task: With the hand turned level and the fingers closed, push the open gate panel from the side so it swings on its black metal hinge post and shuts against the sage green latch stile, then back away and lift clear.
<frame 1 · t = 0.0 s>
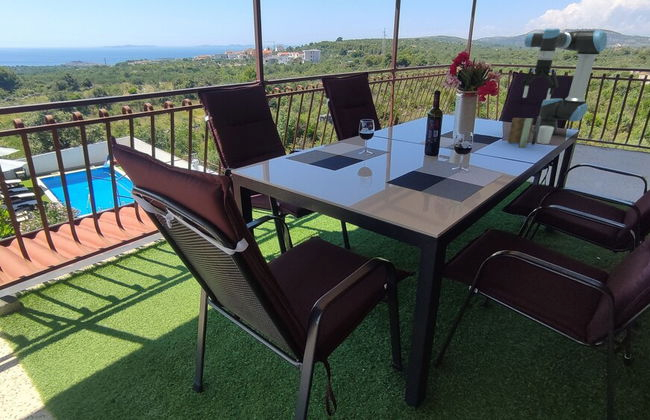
hand: (535, 98, 214), 28 cm above the table, tool pointing down, fingers open, 13 cm apart
gate frame: (530, 143, 232), on the table
gate: (520, 130, 229), point 8 cm above the table, hinge at -40.0°
white cup: (542, 143, 234), on the table
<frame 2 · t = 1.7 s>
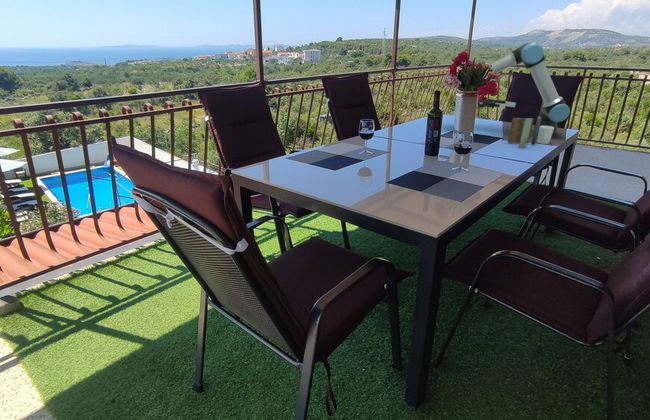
hand: (510, 105, 229), 22 cm above the table, tool horizontal, fingers open, 10 cm apart
nothing on the table moved.
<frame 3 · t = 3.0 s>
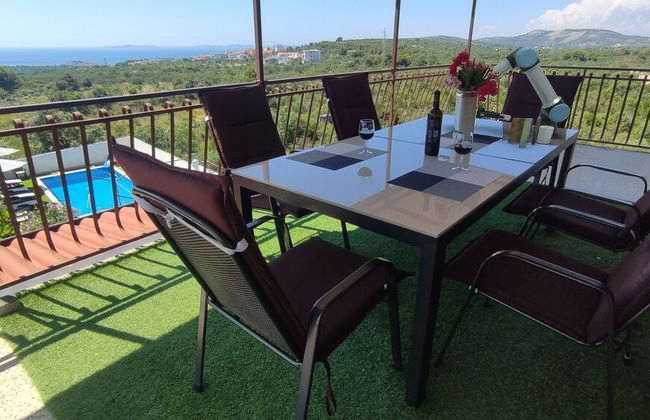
hand: (509, 118, 230), 15 cm above the table, tool horizontal, fingers closed
nothing on the table moved.
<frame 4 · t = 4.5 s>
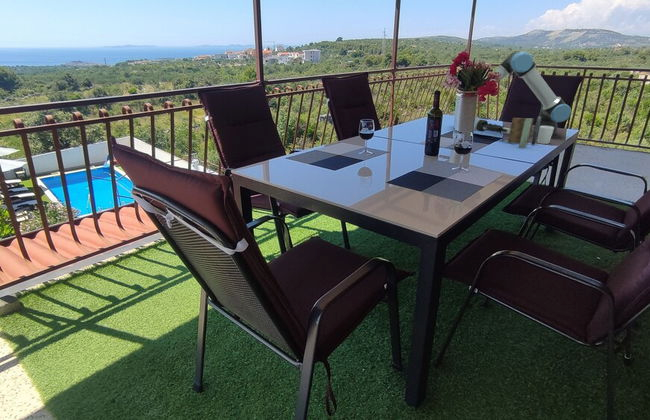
hand: (512, 131, 231), 7 cm above the table, tool horizontal, fingers closed
gate: (520, 130, 229), point 8 cm above the table, hinge at -39.7°, touching gripper
everything else where it was.
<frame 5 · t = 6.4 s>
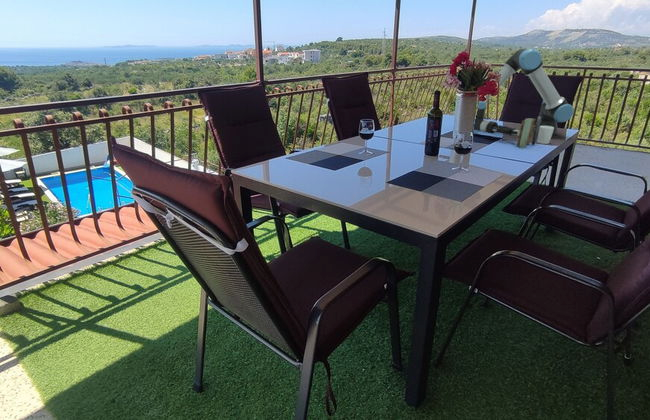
hand: (523, 134, 225), 7 cm above the table, tool horizontal, fingers closed, pressing on gate
gate: (526, 132, 225), point 8 cm above the table, hinge at -2.3°, touching gripper
everything else where it was.
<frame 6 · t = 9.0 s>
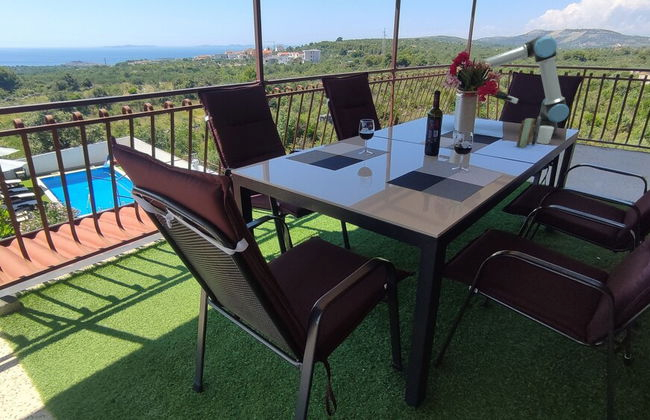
hand: (517, 101, 231), 24 cm above the table, tool horizontal, fingers closed
gate: (526, 132, 225), point 8 cm above the table, hinge at -2.2°
everything else where it was.
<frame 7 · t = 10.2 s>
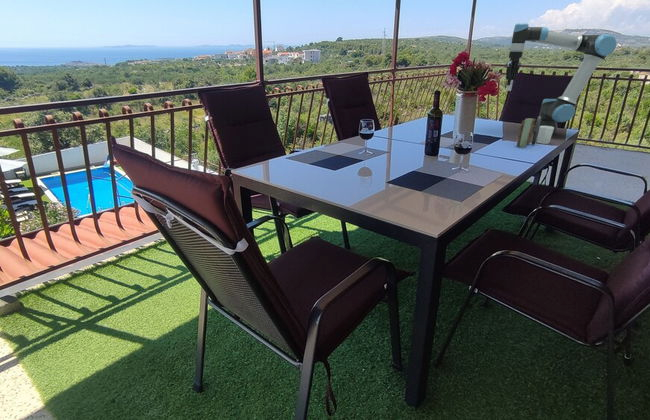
hand: (508, 90, 240), 29 cm above the table, tool pointing down, fingers closed
nothing on the table moved.
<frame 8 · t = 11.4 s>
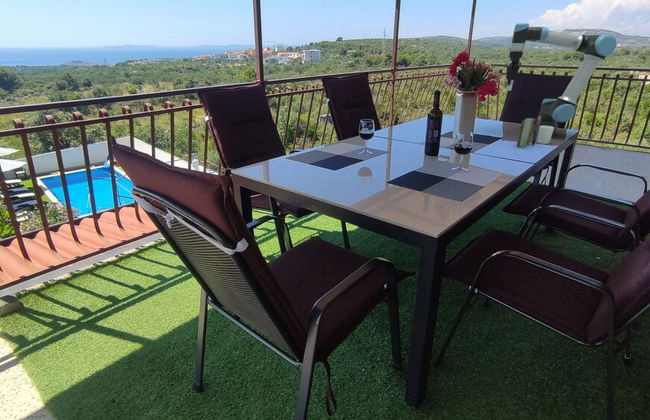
hand: (508, 90, 240), 29 cm above the table, tool pointing down, fingers closed
nothing on the table moved.
at the end: gate at -2° (first picture: -40°); white cup moved 0.2 cm from its start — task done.
